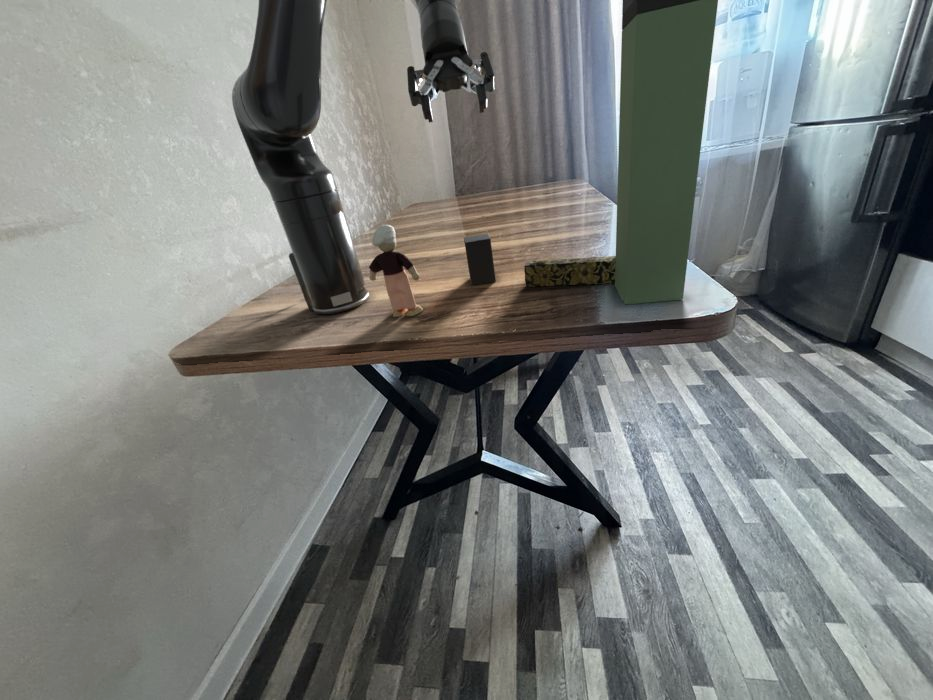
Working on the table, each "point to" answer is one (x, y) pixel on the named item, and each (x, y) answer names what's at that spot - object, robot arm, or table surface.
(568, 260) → the decorative block
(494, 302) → the table surface
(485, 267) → the dark gray rectangular block
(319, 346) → the table surface
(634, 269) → the tall green rectangular column
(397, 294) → the grandmother figurine
